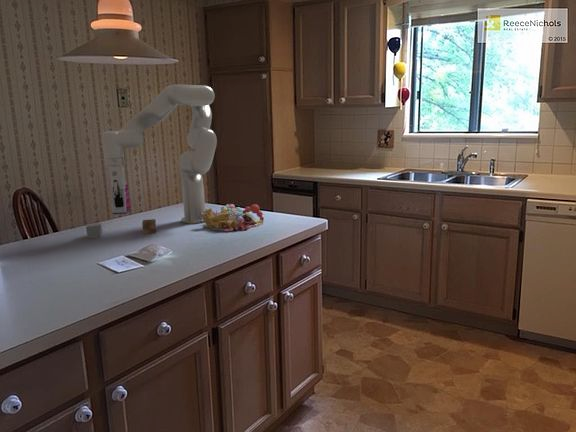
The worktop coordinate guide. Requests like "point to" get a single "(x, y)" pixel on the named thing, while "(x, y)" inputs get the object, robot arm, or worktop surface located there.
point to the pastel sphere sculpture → (232, 218)
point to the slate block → (94, 230)
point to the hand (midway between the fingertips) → (120, 204)
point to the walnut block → (149, 226)
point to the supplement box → (125, 201)
